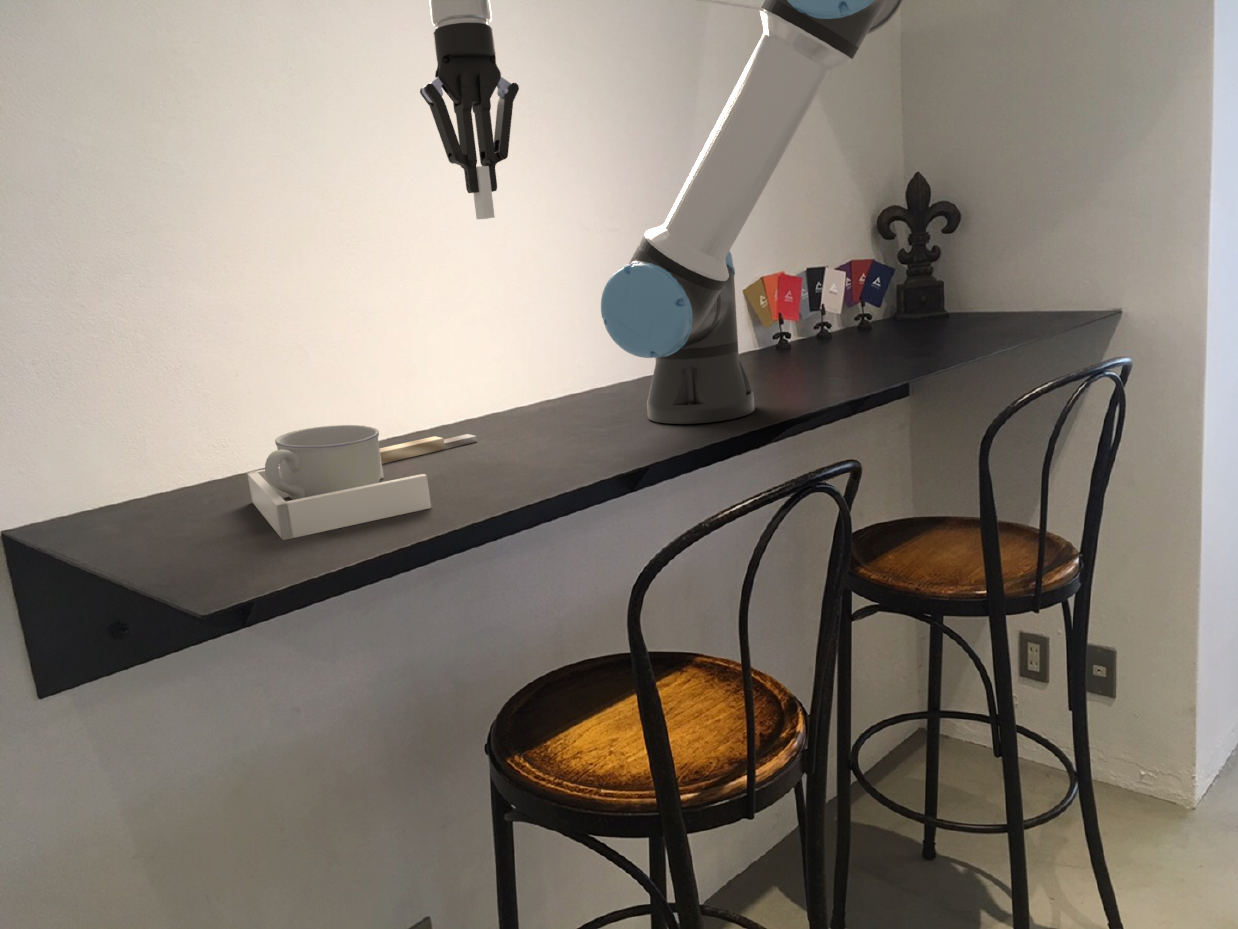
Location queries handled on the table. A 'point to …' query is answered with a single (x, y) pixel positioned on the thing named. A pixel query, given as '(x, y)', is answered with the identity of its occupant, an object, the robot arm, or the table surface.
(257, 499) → the tray
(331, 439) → the teacup
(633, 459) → the table surface
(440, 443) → the birch bar
